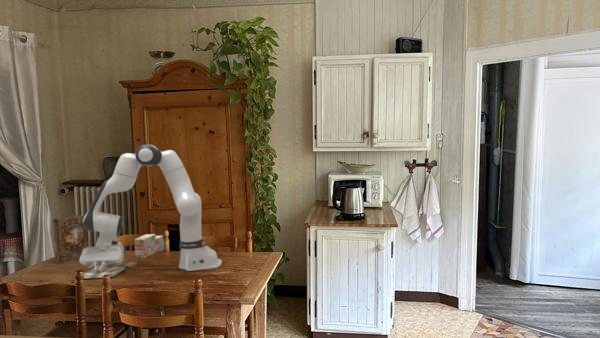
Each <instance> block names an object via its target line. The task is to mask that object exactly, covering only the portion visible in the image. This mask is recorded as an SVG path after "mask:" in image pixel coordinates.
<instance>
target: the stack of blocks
mask: <svg viewBox="0 0 600 338" xmlns="http://www.w3.org/2000/svg"><path fill="white" fill-rule="evenodd" d="M163 251H165V240H164V235H156V233H154V234H153V233H149V234H148V233H146V234H144V235H141V236H139V237H136V238H134V253H135V254H134V257H135V258H138V259H140V258H141V259H145V258H147V257H150V256H152V255H154V254H155V253H157V252H163Z"/></svg>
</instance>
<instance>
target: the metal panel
mask: <svg viewBox="0 0 600 338" xmlns="http://www.w3.org/2000/svg"><path fill="white" fill-rule="evenodd" d="M125 269H126V267H104V268H103V269H102V271H99V272H95V268H93V269H88V270H87V271H85V272H83V273H84V278H83V279H100V278H103V276H104V275H109V276H110V277H109V278H114V277H116V276H117V275H119V274H120V273H122V272H123V271H124V270H125ZM103 279H104V278H103Z"/></svg>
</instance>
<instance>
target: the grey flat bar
mask: <svg viewBox="0 0 600 338" xmlns="http://www.w3.org/2000/svg"><path fill="white" fill-rule="evenodd" d="M138 264H139V261H128V262H121V263H108V264H106V266H105V267H125V268H135V266H137V265H138ZM101 265H102V264H99V265H98V266H97V267H100V266H101ZM93 268H95V266H94V264H89V266H88V267H86V270H91V269H93Z"/></svg>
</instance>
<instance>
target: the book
mask: <svg viewBox="0 0 600 338" xmlns="http://www.w3.org/2000/svg"><path fill="white" fill-rule="evenodd" d="M85 215H86V214H85ZM85 215H81V214H77V215H76V214H75V215H68V216H63V217H57V218H52V223H53V227H52V228H53V239H54V241H53V242H54V253H55V263H56V264H63V263H68V262H72V261H76V260H79V259H80V256H81V254H82V252H83V249H85V248H86V249H87V247H89V245H88V244H89V243H88V232H87V231H88V230H86V229H85V228H84V226H83V219H84V217H85Z"/></svg>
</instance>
